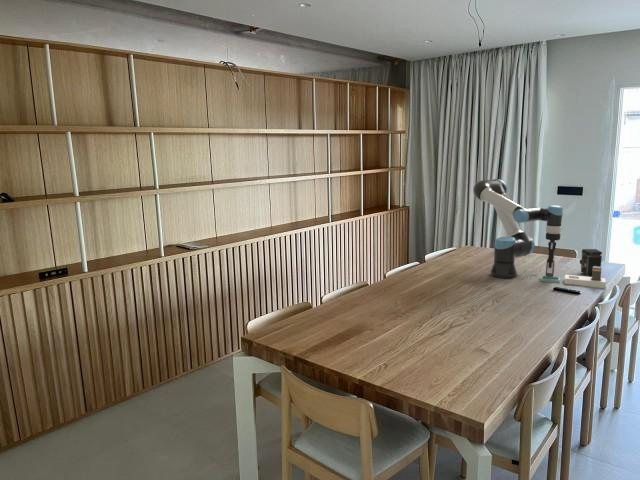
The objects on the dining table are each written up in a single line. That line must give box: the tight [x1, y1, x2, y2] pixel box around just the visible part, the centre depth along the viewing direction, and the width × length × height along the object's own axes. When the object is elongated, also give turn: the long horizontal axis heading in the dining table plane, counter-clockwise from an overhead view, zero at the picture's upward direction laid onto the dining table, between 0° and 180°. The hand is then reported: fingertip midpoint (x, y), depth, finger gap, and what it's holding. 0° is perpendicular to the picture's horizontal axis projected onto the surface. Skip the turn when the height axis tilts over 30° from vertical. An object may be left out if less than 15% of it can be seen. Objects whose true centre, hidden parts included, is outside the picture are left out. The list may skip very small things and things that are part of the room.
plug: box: [545, 257, 556, 277], centre depth 273 cm, size 4×4×10 cm
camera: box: [579, 248, 603, 276], centre depth 285 cm, size 10×10×15 cm
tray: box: [539, 275, 561, 284], centre depth 273 cm, size 10×8×2 cm
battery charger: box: [564, 266, 607, 289], centre depth 264 cm, size 20×9×10 cm, turn 61°
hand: (549, 271), depth 273 cm, fingers closed on plug, 4 cm apart
